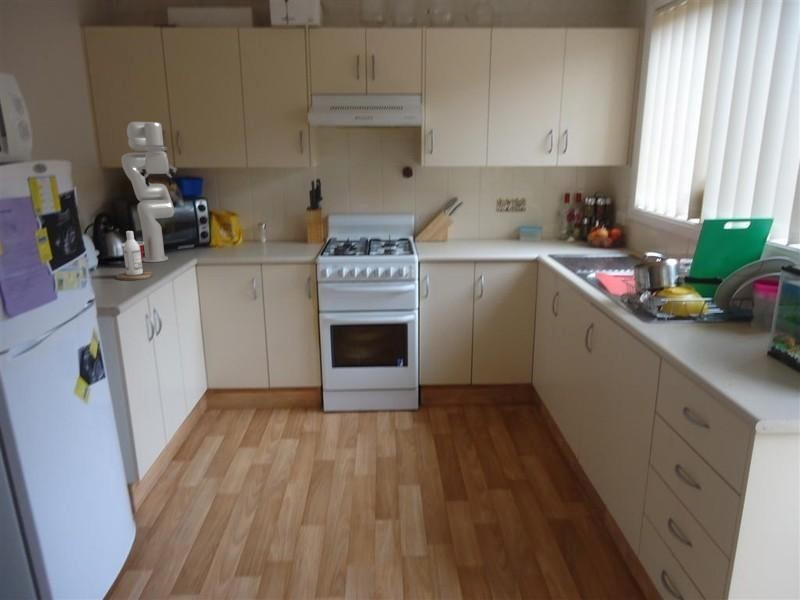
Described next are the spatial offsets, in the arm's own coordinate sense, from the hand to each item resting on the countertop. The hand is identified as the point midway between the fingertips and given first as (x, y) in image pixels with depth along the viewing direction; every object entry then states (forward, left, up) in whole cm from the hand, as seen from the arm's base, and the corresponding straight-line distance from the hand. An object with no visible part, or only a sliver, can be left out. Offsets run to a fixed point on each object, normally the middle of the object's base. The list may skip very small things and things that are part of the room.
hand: (159, 186), depth 265 cm
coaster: (+17, -13, -40) cm, 46 cm away
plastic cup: (-8, -16, -40) cm, 44 cm away
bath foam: (+17, -13, -39) cm, 45 cm away
